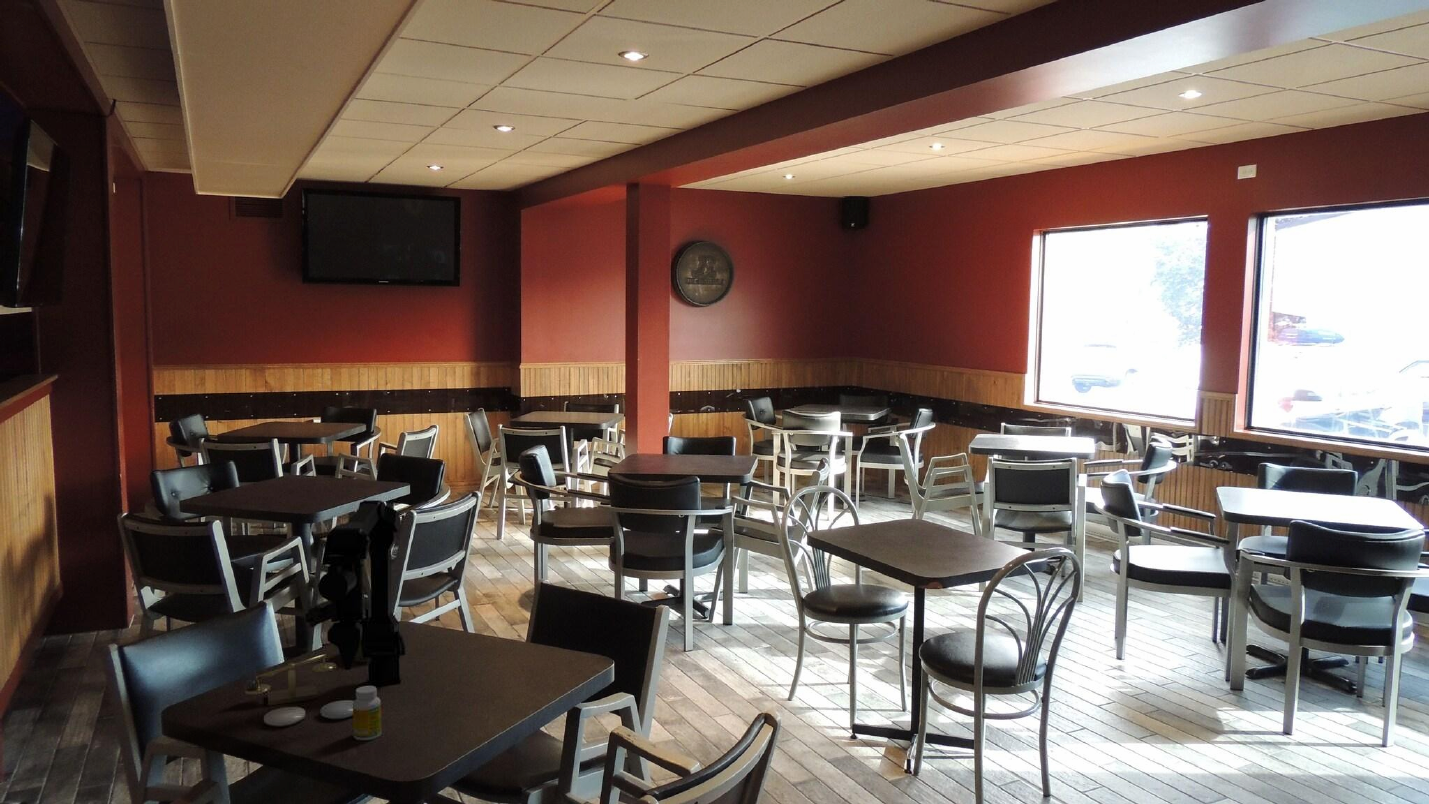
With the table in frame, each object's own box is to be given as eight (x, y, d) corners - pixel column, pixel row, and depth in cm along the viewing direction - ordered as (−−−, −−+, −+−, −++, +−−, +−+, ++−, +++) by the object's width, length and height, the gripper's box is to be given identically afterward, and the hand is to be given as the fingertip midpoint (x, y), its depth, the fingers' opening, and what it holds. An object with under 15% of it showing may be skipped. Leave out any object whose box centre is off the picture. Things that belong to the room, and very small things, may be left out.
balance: (336, 686, 232) (334, 648, 231) (338, 695, 227) (336, 656, 226) (246, 699, 224) (244, 660, 223) (246, 709, 219) (244, 669, 218)
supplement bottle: (372, 742, 202) (371, 695, 201) (348, 739, 203) (346, 693, 203) (386, 731, 208) (385, 685, 207) (362, 729, 209) (361, 683, 208)
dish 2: (358, 703, 222) (358, 698, 222) (362, 717, 215) (362, 711, 214) (319, 709, 218) (319, 704, 218) (322, 723, 211) (321, 717, 211)
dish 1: (304, 710, 218) (304, 704, 218) (306, 724, 211) (306, 718, 211) (263, 716, 215) (263, 710, 215) (264, 730, 208) (264, 724, 207)
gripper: (314, 579, 215) (316, 650, 216) (298, 602, 197) (301, 680, 198) (369, 576, 218) (371, 647, 219) (359, 599, 199) (360, 676, 201)
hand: (350, 662), depth 209 cm, fingers open, 9 cm apart
